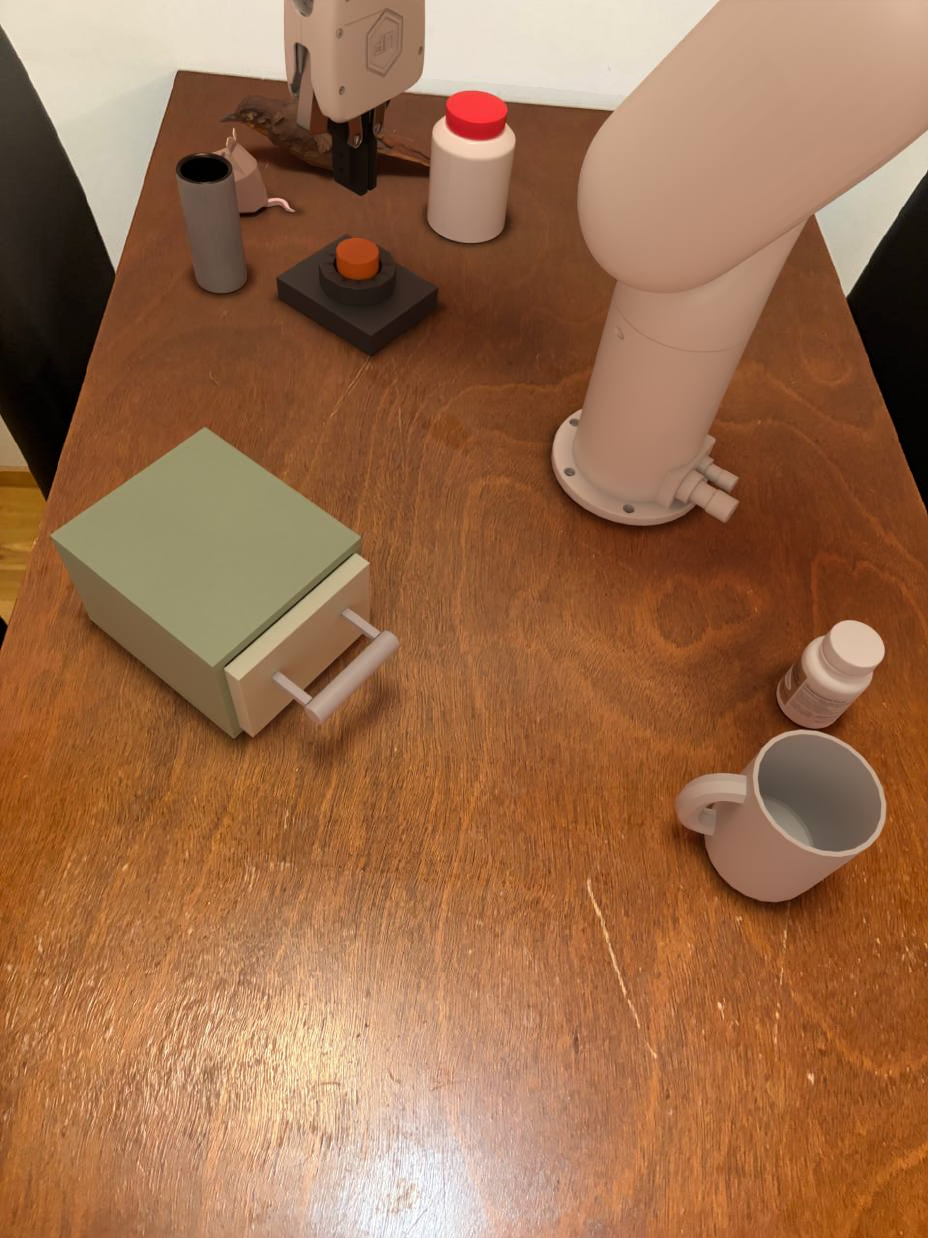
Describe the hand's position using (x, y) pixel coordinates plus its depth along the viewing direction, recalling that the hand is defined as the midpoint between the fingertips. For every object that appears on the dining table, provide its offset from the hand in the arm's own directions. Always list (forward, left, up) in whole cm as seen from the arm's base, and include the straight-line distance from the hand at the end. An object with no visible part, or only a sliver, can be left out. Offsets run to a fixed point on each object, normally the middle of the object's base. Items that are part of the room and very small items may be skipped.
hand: (354, 184), depth 70 cm
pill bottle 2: (-50, +10, -12) cm, 52 cm away
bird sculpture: (+16, -16, -12) cm, 25 cm away
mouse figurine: (+17, -4, -12) cm, 21 cm away
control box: (0, 0, -11) cm, 11 cm away
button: (0, 0, -8) cm, 8 cm away
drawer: (-20, +31, -11) cm, 38 cm away
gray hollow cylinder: (+11, +6, -12) cm, 17 cm away
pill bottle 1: (+1, -17, -12) cm, 21 cm away
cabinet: (-16, +31, -11) cm, 36 cm away
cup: (-51, +22, -12) cm, 57 cm away
